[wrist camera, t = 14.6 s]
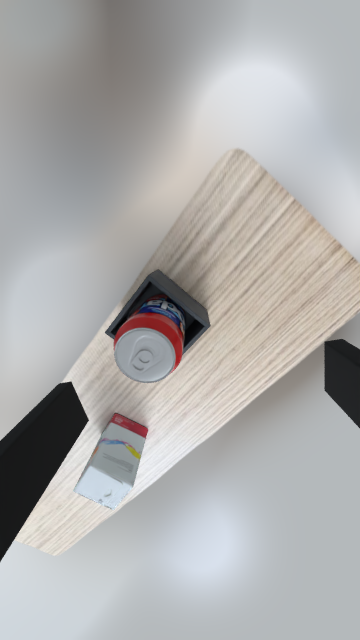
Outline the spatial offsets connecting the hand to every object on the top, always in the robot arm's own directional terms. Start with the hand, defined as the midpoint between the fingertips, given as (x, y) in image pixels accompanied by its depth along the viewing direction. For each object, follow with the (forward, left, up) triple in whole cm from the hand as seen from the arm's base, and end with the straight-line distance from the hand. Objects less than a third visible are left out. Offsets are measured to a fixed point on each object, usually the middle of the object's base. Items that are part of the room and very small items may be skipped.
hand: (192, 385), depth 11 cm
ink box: (+21, +29, -26) cm, 44 cm away
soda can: (+6, +3, -25) cm, 26 cm away
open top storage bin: (+6, +3, -26) cm, 26 cm away
